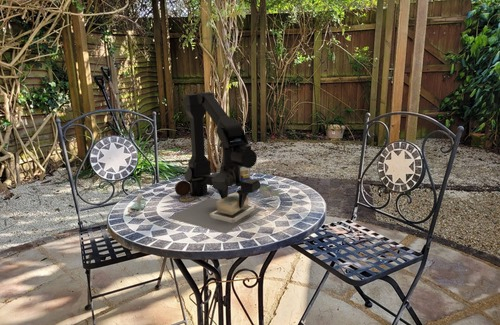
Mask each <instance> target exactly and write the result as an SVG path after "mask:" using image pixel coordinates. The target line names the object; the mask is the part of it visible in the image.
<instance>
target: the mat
mask: <svg viewBox="0 0 500 325" xmlns="http://www.w3.org/2000/svg"><path fill="white" fill-rule="evenodd" d="M219 200H220V199H218V198H217V199H216V198H212V197H207V198H206V199H203V200H201V201H199V202H197V203H195V204H193V205H191V206H189V207H187V208H185V209H183V210H181V211H179V212H177V213H176V212H175V213H174V214H172V215H170V216H168V217H167V218H168V219H171V220H174V221H178V222H181V223H185V224H189V225H192V226H197V227H200V228H203V229H207V230H212V231H215V232H218V233H220V234H221V233H222V234H228V233H230V232H231V231H232V230H234V229H235V228H237V227H238V226H240V225H241V224H243V223H244V222H246V221H247V220H249V219H250V218H252V217H254V216H256V214H258V213H260V212H261V211H263V210H264V209H263V208H261V207H260V208H259V207H257V206H256V205H254V204H253V205H252V204H249V203H248V206H246V207H245V208H243V209H241V210H240V211H238V212H236V213H235V214H233V215H229V214H225V213H221V212H217V201H219Z"/></svg>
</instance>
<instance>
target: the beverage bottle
mask: <svg viewBox="0 0 500 325" xmlns="http://www.w3.org/2000/svg"><path fill="white" fill-rule="evenodd" d="M247 139H248V137H247ZM248 140H249V139H248ZM238 141H240V140H238ZM231 142H233V141H231ZM240 169H241V175H242V176H243V179H241V181H246V180H248V179H251V168H246V167H240Z"/></svg>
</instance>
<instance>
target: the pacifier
mask: <svg viewBox="0 0 500 325" xmlns="http://www.w3.org/2000/svg"><path fill="white" fill-rule="evenodd" d="M146 202H147V201H146V200H144V199H143V195H142V193H141V192H139V193H138V194H137V198H136V201H135V202H133V204H132V205H131V206H130V207H128V208H127V211H128V212H129V213H135V212H138V211H141V210H143V209H145V208H146V205H147V203H146Z"/></svg>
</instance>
